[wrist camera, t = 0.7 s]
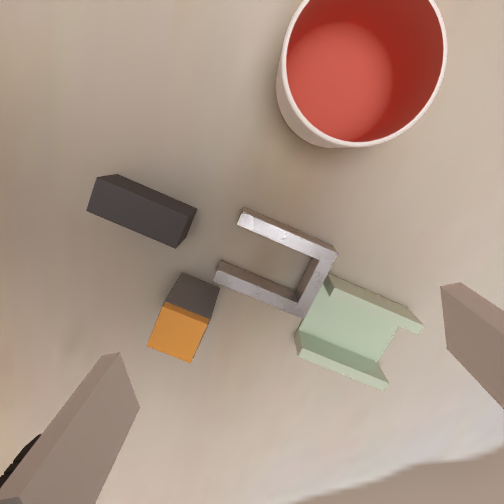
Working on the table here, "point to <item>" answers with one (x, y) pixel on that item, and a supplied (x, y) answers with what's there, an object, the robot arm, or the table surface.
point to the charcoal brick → (141, 209)
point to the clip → (274, 292)
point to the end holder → (351, 330)
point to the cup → (360, 69)
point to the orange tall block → (184, 318)
